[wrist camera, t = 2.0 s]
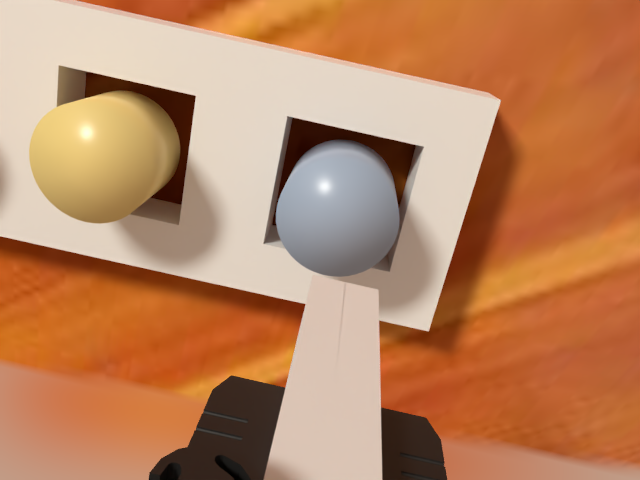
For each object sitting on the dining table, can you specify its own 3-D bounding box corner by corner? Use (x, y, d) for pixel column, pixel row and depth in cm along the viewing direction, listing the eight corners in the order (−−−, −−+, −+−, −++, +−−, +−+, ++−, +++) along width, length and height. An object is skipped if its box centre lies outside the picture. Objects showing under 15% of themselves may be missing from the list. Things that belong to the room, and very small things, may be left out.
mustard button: (72, 183, 25) (27, 208, 22) (78, 79, 24) (31, 89, 20) (173, 206, 25) (143, 235, 22) (186, 103, 24) (157, 117, 20)
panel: (-160, 175, 28) (-208, 190, 26) (-179, -57, 24) (-237, -65, 22) (423, 305, 28) (428, 331, 26) (488, 92, 24) (500, 100, 22)
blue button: (279, 229, 25) (266, 262, 22) (299, 128, 24) (288, 146, 20) (380, 252, 25) (382, 288, 22) (406, 152, 24) (413, 174, 20)
